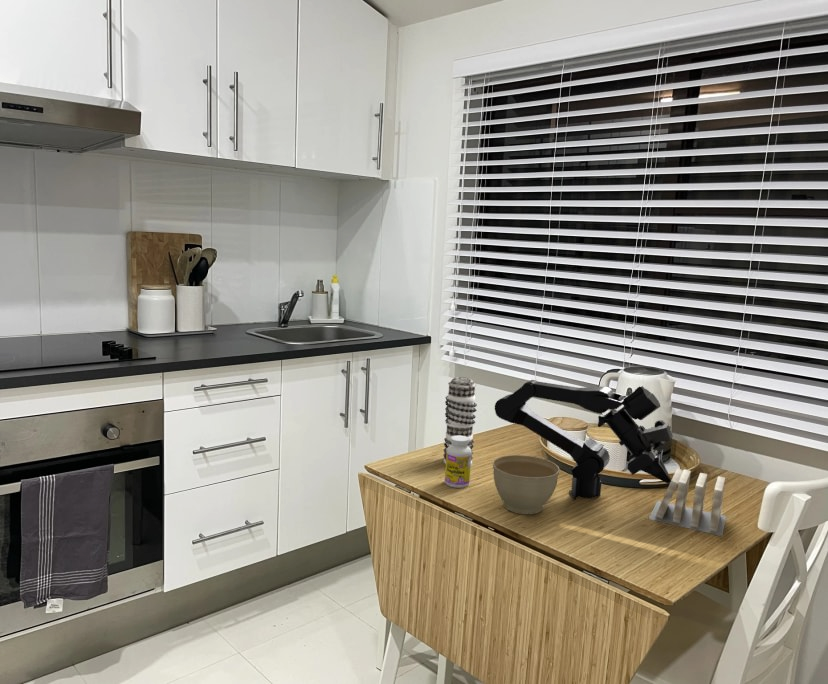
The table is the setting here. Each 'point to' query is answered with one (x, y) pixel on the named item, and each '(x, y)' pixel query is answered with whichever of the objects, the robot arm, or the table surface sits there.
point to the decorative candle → (460, 411)
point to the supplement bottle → (458, 462)
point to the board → (688, 519)
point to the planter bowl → (525, 482)
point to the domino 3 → (699, 500)
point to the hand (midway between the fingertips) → (669, 482)
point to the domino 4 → (717, 504)
